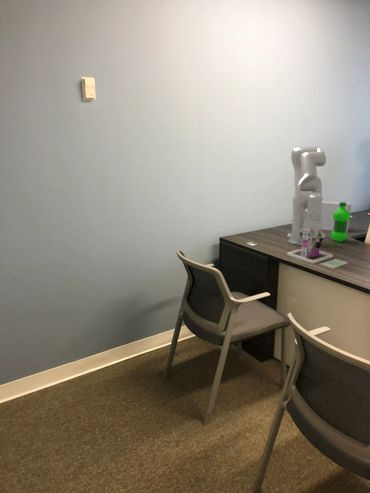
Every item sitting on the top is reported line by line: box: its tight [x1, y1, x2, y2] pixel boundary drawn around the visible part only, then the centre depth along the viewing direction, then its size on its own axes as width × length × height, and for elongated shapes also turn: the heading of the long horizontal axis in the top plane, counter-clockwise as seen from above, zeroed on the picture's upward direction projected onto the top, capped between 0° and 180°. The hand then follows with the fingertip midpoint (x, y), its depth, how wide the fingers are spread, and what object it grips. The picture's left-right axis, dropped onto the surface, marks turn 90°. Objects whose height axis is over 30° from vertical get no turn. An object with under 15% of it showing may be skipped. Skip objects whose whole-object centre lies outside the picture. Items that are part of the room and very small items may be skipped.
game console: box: [320, 200, 352, 233], centre depth 273 cm, size 6×27×20 cm, turn 58°
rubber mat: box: [319, 258, 349, 270], centre depth 206 cm, size 8×14×1 cm, turn 125°
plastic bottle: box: [331, 201, 351, 243], centre depth 245 cm, size 10×10×25 cm
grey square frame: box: [286, 248, 334, 264], centre depth 219 cm, size 18×18×2 cm
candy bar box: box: [299, 229, 320, 259], centre depth 217 cm, size 11×5×16 cm, turn 126°
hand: (310, 246), depth 217 cm, fingers open, 9 cm apart
